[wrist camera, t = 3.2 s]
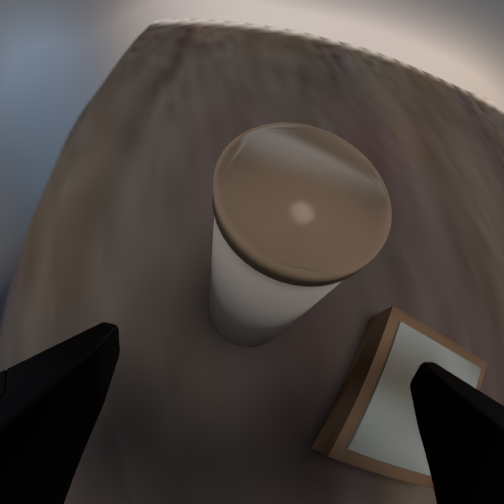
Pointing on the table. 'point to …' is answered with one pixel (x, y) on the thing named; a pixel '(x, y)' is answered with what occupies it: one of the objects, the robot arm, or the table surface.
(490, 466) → the robot arm
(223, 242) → the tumbler
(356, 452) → the plinth
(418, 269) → the table surface
